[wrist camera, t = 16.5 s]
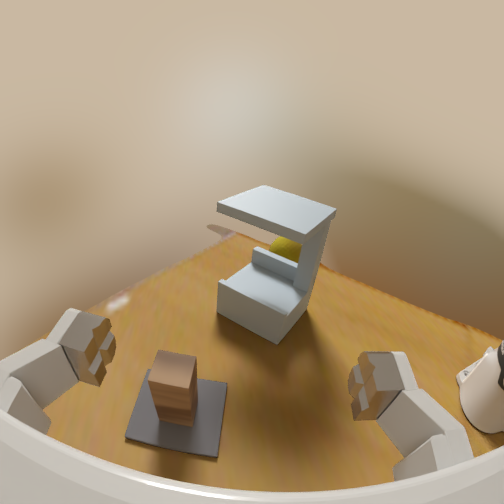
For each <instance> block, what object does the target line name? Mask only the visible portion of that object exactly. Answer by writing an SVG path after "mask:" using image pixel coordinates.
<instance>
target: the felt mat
mask: <svg viewBox="0 0 504 504" xmlns="http://www.w3.org/2000/svg"><path fill="white" fill-rule="evenodd" d="M150 371H151V369H148V370H147V373H146V376H145V378H144V381H143V384H142V387H141V390H140V392H139V395H138V398H137V401H136V404H135V407H134V410H133V413H132V415H131V418H130V421H129V424H128V427H127V430H126V434H125V438H128V439H131V440H135V441H138V442H142V443H146V444H149V445H153V446H157V447H162V448H166V449H171V450H175V451H180V452H185V453H191V454H196V455H202V456H208V457H215V458H217V454H218V447H219V439H220V432H221V425H222V418H223V410H224V403H225V396H226V389H227V383H224V382H217V381H210V380H204V379H198V378H197V388H198V403H197V408H196V413H195V418H194V423H193V427H189V426H183V425H178V424H174V423H169V422H164V421H160V420H159V418H158V415H157V412H156V409H155V405H154V402H153V398H152V395H151V392H150V388H149V384H148V381H147V380H148V377H149V374H150Z"/></svg>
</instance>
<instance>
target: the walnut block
mask: <svg viewBox="0 0 504 504" xmlns="http://www.w3.org/2000/svg"><path fill="white" fill-rule="evenodd" d="M147 381H148V384H149V388H150V392H151V395H152V398H153V402H154V405H155V409H156V412H157V415H158V418H159V420H160V421H164V422H169V423H174V424H178V425H183V426H189V427H193V423H194V418H195V413H196V408H197V403H198V388H197V361H196V357H195V356H189V355H184V354H178V353H173V352H168V351H163V350H158V352H157V355H156V357H155V360H154V363H153V366H152V368H151V371H150V374H149V377H148V380H147Z"/></svg>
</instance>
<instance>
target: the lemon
mask: <svg viewBox="0 0 504 504" xmlns="http://www.w3.org/2000/svg"><path fill="white" fill-rule="evenodd" d="M301 248H302V244H300V243H297V242H295V241H292V240H290V239H287V238H284V237H282V236H280V237H278V238H277V239H276V240H275V241H274V242H273V243H272V244H271V246H270V249H269V251H270V252H272V253H274V254H277V255H279V256H281V257H284V258H286V259H288V260H291V261H293V262H296V263H298V261H299V257H300V253H301Z"/></svg>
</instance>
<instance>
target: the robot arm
mask: <svg viewBox="0 0 504 504" xmlns="http://www.w3.org/2000/svg"><path fill="white" fill-rule="evenodd" d="M111 327H112V326H111V323H110V319H108V318H105V317H101V316H98V315H94V314H91V313H87V312H84V311H80V310H76V309H72V308H70V309H68V310H67V311H66V312H65V313H64V315H63V316H62V317H61V319H60V320H59V321H58V323H57V324H56V326H55V327H54V328H53V330H52V331H51V333H50V334H49V336H48V337H47V339H46V340H45V339H41V340H39V341H37V342H35V343H33V344H31V345H29V346H27V347H26V348H24V349H22V350H20V351H18V352H16V353H14V354H12V355H10V356H8V357H7V358H5V359H3V360H1V361H0V504H504V445H503V446H501V447H499V448H497V449H495V450H492V451H490V452H488V453H485V454H483V455H481V456H478V457H476V458H474V456H473V453H472V450H471V446H470V443H469V440H468V437H467V434H466V431H465V428H464V426H462V425H461V424H460V423H459V422H458V421H457V420H456V419H455V418H454V417H453V416H451V415H450V414H449V413H448V412H447V411H446V410H445V409H444V408H443V407H442V406H441V405H439V404H438V403H437V402H436V401H435V400H434V399H433V398H432V397H431V396H429V395H428V394H427V393H426V392H425V391H424V390H423V389H419V388H418V386H417V383H416V380H415V377H414V375H413V372H412V369H411V367H410V364H409V361H408V359H407V356H406V354H405V353H404V352H367V351H364V352H362V353H361V354H360V356H359V357H358V363H359V364H357V365H356V366H354V367H353V368H352V370H351V372H350V374H349V379H348V389H349V394H350V395H351V396H352V397H353V398H354V400H353V402H352V404H351V407H352V412H353V418H354V421H361V420H376V422H377V423H378V424H379V425H380V427H381V428H382V429H383V431H384V432H385V433H386V434H387V436H388V437H389V438H390V440H391V441H392V442H393V443H394V445H395V446H396V447H397V449H398V450H399V451H400V452H401V454H402V455H403V456H404V459H402V460H401V461H400V462H398V463H397V464H395V466H394V467H393V474H394V481H395V482H390V483H384V484H379V485H373V486H366V487H359V488H351V489H342V490H330V491H314V492H263V491H247V490H235V489H226V488H218V487H210V486H204V485H198V484H192V483H186V482H181V481H176V480H172V479H167V478H163V477H159V476H155V475H151V474H147V473H143V472H140V471H136V470H133V469H130V468H126V467H123V466H120V465H117V464H114V463H111V462H108V461H105V460H103V459H100V458H97V457H95V456H92V455H89V454H87V453H84V452H82V451H80V450H77V449H75V448H73V447H70V446H68V445H66V444H64V443H61V442H59V441H57V440H55V439H53V438H51V437H49V436H47V435H46V434H47V432H48V429H49V427H50V425H51V421H50V418H49V417H48V416H47V415H46V414H45V412H44V411H43V409H44V408H45V407H47V406H48V405H49V404H51V403H52V402H53V401H54V400H56V399H57V398H58V397H60V396H61V395H62V394H64V393H65V392H66V391H67V390H69V389H70V388H71V387H73V386H74V385H75V384H77V383H78V382H79V381H82V382H85V383H88V384H92V385H95V386H98V387H100V385H101V383H102V381H103V379H104V377H105V375H106V373H107V371H106V368H105V366H106V365H107V364H109V363H111V362H112V360H113V357H114V355H115V350H116V340H115V337H114V335H113V334H112V333H111V332H110V329H111ZM456 378H457V382H458V384H459V387H460V401H461V405H462V408H463V411H464V413H465V415H466V416H467V418H468V419H469V421H470V422H471V423H472V424H473V425H474V426H475V427H476V428H478V429H479V430H481V431H483V432H486V433H497V432H500V431H503V432H504V340H503V341H502V343H501V345H500V346H499V347H498V348H496V349H495V350H494V349H493V348H492V347H491V346H490V347H489V348H488V349H487V350H486V351H485V353H484V354H483V357H482V358H481V359H479V360H478V361H476V362H475V363H473V364H472V365H470V366H469V367H467V368H466V369H464V370H462V371H461V372H460V373H459V374H458V375H457V377H456ZM78 380H79V381H78Z"/></svg>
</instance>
